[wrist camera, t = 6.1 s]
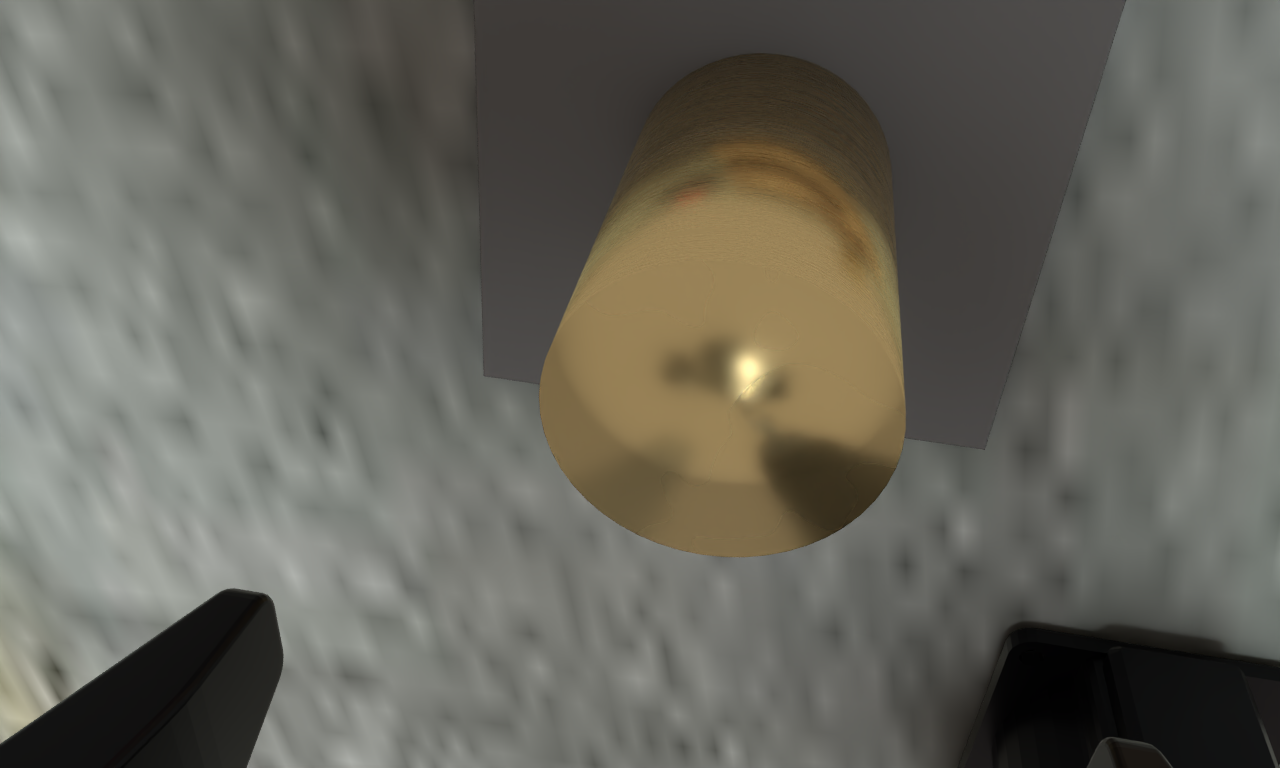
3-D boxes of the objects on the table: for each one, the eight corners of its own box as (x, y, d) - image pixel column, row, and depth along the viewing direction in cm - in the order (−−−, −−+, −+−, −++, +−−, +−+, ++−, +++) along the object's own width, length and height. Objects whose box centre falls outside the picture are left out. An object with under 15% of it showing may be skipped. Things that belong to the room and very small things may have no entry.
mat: (982, 437, 22) (984, 449, 21) (489, 365, 23) (483, 375, 22) (1151, -108, 16) (1158, -103, 15) (477, -173, 17) (469, -170, 16)
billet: (865, 306, 20) (867, 581, 14) (627, 274, 20) (538, 528, 15) (916, 69, 17) (943, 289, 12) (641, 37, 18) (540, 235, 12)
